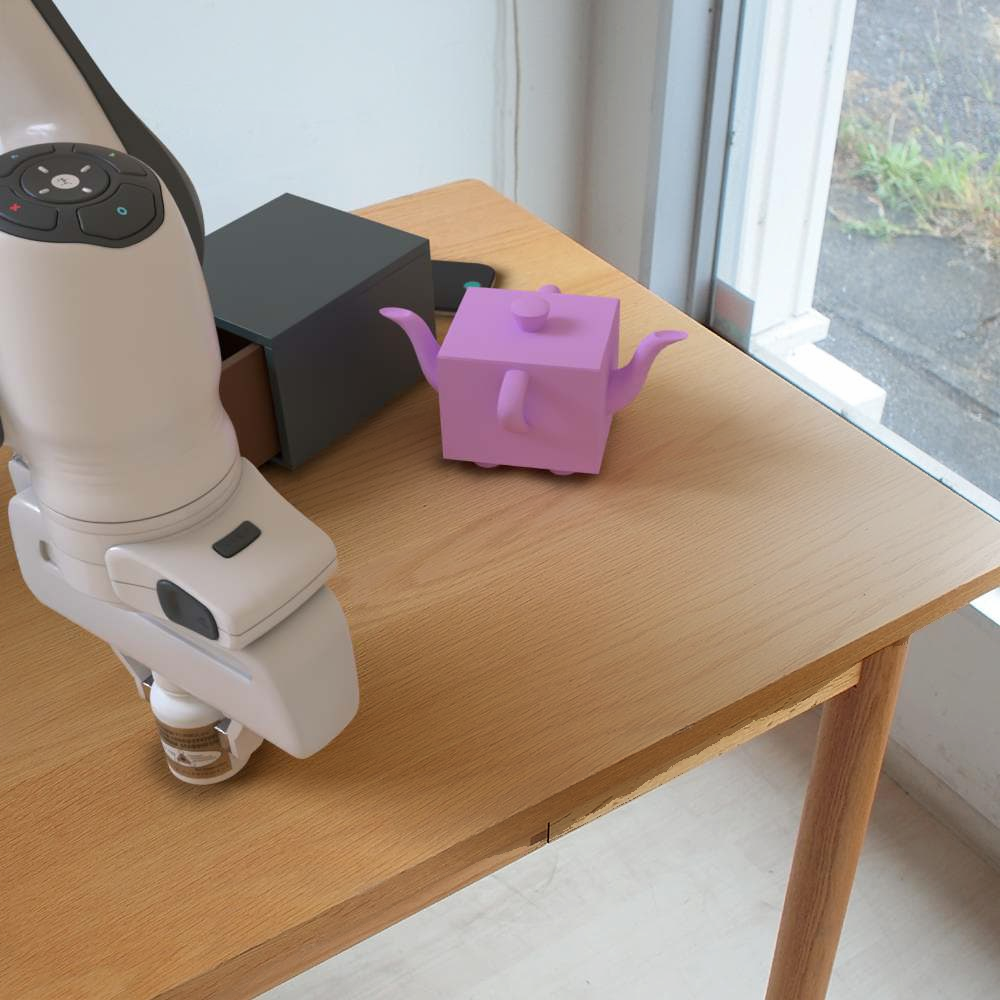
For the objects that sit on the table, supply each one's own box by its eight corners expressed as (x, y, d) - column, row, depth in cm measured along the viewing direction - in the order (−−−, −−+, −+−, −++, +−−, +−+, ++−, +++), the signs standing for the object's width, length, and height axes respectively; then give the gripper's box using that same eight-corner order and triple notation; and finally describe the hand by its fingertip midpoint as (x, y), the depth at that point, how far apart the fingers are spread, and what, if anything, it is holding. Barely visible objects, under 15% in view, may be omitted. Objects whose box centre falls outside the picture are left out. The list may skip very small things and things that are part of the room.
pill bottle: (154, 781, 68) (122, 676, 63) (189, 718, 71) (162, 614, 67) (234, 795, 67) (207, 690, 62) (266, 731, 70) (243, 627, 66)
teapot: (576, 365, 97) (577, 231, 91) (682, 458, 88) (692, 317, 81) (389, 429, 92) (375, 292, 85) (482, 536, 83) (474, 391, 76)
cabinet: (293, 475, 88) (271, 339, 81) (155, 410, 95) (124, 279, 88) (439, 368, 98) (429, 239, 91) (304, 316, 104) (286, 191, 98)
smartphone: (479, 311, 102) (294, 296, 105) (480, 321, 102) (296, 306, 105) (499, 263, 108) (324, 251, 110) (500, 273, 108) (325, 260, 111)
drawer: (134, 570, 80) (102, 453, 74) (5, 498, 86) (-33, 384, 80) (346, 417, 92) (331, 306, 86) (220, 363, 97) (199, 257, 92)
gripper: (-52, 467, 62) (23, 673, 71) (260, 643, 52) (304, 857, 61) (55, 404, 66) (115, 606, 74) (365, 556, 56) (392, 769, 65)
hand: (202, 720), depth 68 cm, fingers closed on pill bottle, 4 cm apart
